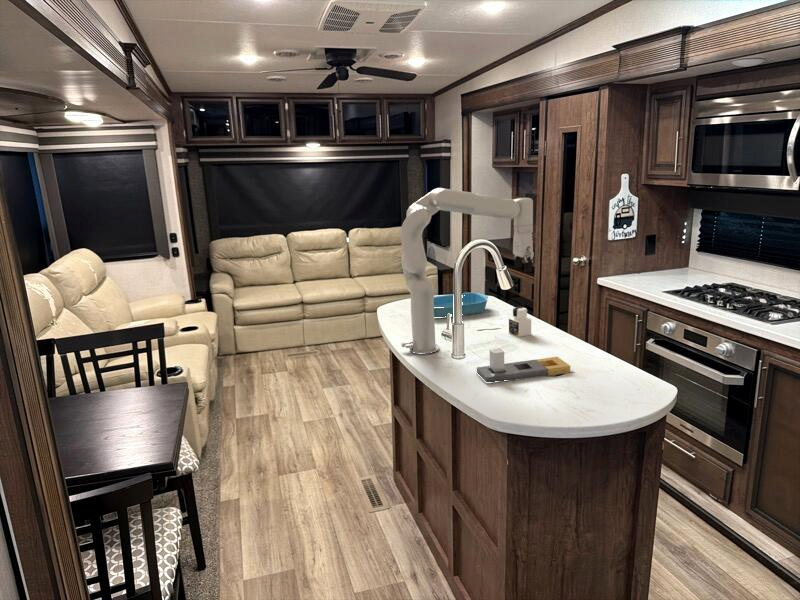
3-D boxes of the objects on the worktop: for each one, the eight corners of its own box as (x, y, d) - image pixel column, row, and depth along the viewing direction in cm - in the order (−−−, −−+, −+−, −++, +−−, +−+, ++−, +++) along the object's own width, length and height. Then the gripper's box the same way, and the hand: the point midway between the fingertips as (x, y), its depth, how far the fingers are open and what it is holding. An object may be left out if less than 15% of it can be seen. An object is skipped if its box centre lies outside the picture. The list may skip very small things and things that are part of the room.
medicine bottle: (508, 333, 244) (508, 307, 241) (521, 330, 247) (521, 304, 244) (518, 337, 238) (518, 311, 235) (531, 334, 240) (531, 308, 237)
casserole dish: (426, 322, 267) (425, 308, 266) (413, 311, 288) (412, 298, 287) (495, 313, 276) (495, 299, 274) (478, 303, 297) (478, 290, 295)
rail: (486, 384, 192) (486, 377, 191) (476, 373, 201) (476, 367, 200) (570, 372, 197) (570, 365, 197) (557, 362, 207) (557, 356, 206)
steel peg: (494, 379, 195) (493, 353, 193) (490, 375, 199) (489, 349, 196) (504, 378, 196) (504, 351, 193) (500, 374, 200) (500, 348, 197)
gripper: (506, 227, 231) (506, 266, 235) (523, 231, 214) (523, 274, 219) (522, 225, 232) (522, 265, 237) (541, 230, 216) (541, 272, 220)
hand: (523, 269), depth 228 cm, fingers open, 9 cm apart
